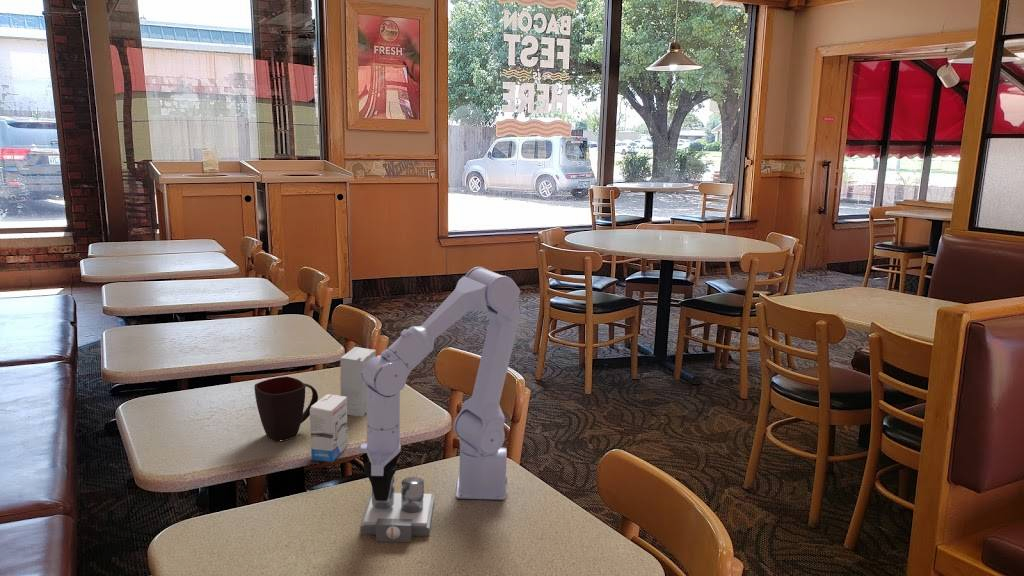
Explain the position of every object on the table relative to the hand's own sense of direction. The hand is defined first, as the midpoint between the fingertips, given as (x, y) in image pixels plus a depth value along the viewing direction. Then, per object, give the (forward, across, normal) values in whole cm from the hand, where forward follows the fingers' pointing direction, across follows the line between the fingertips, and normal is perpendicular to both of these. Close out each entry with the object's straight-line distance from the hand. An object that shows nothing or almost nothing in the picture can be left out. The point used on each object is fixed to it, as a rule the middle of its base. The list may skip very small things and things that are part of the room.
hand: (383, 493), depth 133 cm
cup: (+5, -34, -26) cm, 43 cm away
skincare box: (+5, -48, -13) cm, 50 cm away
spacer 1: (+2, 0, 0) cm, 2 cm away
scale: (+5, +1, +3) cm, 6 cm away
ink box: (+5, -25, -15) cm, 30 cm away
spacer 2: (+3, 0, +5) cm, 6 cm away
